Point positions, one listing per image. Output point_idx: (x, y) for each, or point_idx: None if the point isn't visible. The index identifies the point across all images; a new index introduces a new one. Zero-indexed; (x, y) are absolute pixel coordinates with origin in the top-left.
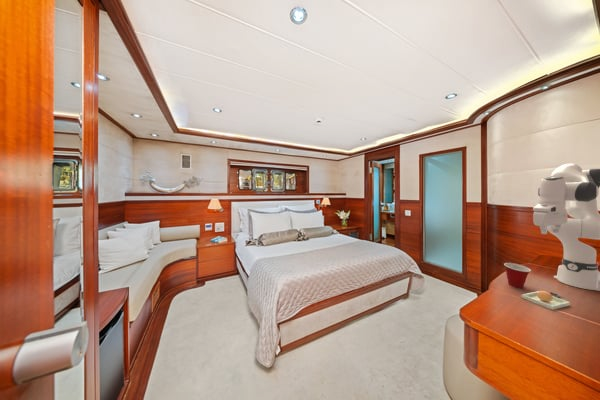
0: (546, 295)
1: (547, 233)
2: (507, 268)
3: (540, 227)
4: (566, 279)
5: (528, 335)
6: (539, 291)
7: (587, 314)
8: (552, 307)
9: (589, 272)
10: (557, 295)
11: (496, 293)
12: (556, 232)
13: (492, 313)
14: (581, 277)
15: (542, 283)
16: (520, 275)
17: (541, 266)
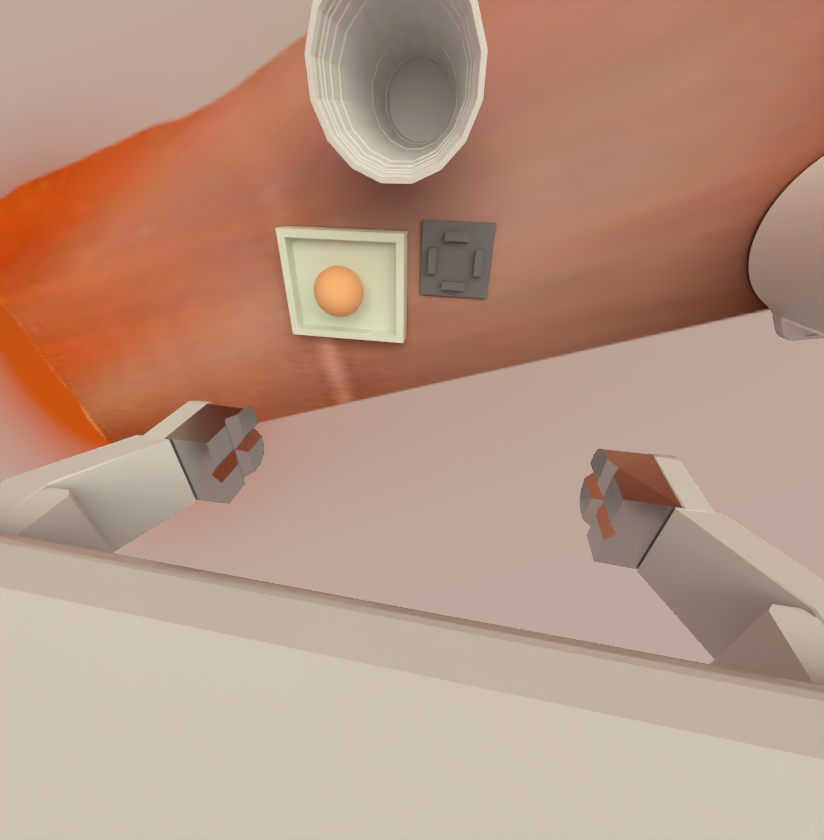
0: (320, 306)
1: (254, 463)
2: (326, 37)
3: (25, 489)
4: (804, 206)
5: (97, 364)
6: (322, 279)
7: (390, 380)
8: (296, 332)
9: None
10: (463, 282)
11: (208, 142)
12: (583, 488)
13: (65, 263)
14: (813, 282)
15: (650, 137)
16: (365, 144)
17: None
